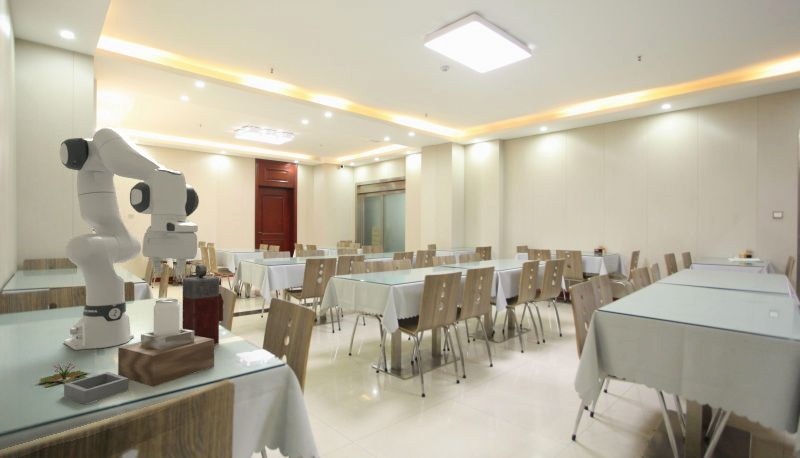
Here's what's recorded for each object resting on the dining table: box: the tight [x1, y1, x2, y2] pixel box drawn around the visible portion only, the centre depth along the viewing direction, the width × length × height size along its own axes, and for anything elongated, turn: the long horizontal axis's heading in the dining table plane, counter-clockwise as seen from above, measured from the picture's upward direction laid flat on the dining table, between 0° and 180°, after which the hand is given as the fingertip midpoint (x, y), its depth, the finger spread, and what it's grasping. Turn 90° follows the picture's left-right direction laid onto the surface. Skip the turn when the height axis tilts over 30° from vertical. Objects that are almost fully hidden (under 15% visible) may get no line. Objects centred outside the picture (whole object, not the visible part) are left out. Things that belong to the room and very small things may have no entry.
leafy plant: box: [35, 362, 90, 388], centre depth 110 cm, size 12×12×5 cm
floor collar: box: [63, 371, 130, 405], centre depth 101 cm, size 10×10×3 cm
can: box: [153, 298, 181, 337], centre depth 117 cm, size 6×6×12 cm
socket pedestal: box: [117, 327, 215, 388], centre depth 116 cm, size 16×18×11 cm
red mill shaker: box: [181, 264, 224, 345], centre depth 146 cm, size 9×11×28 cm
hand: (168, 274), depth 117 cm, fingers open, 8 cm apart
